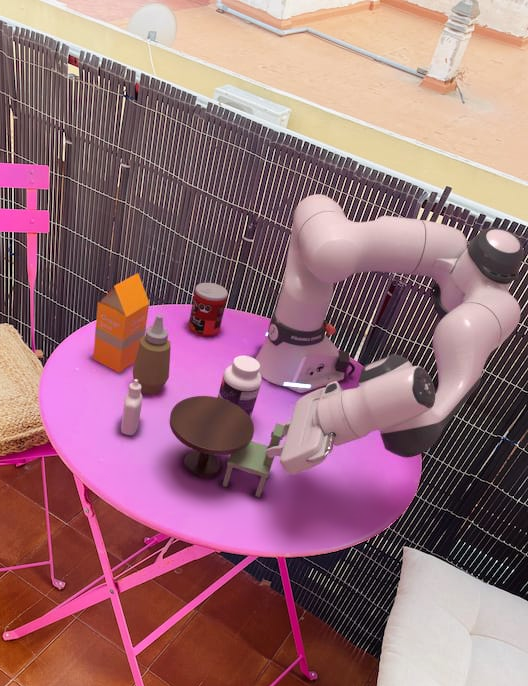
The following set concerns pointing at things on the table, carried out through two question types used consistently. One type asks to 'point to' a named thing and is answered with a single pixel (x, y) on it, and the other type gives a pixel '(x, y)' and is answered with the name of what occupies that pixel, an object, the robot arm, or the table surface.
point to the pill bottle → (241, 383)
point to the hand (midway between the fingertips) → (270, 444)
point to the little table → (210, 431)
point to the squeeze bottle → (153, 359)
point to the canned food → (207, 309)
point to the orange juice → (121, 324)
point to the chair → (254, 459)
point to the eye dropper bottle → (132, 409)
